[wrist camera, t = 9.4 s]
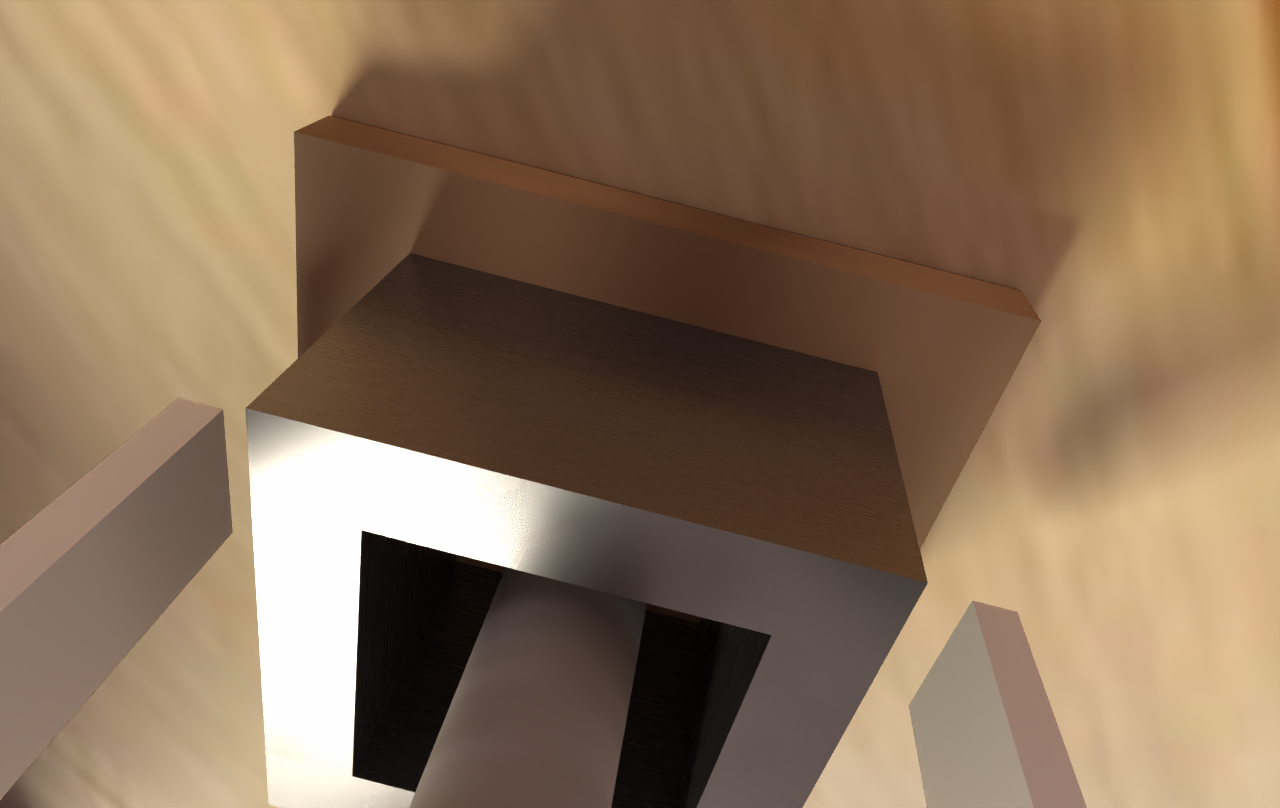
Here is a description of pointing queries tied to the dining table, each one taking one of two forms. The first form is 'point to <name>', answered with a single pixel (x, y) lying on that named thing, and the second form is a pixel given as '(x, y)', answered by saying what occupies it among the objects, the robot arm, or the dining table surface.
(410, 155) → the stand
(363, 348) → the link
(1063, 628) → the dining table surface
